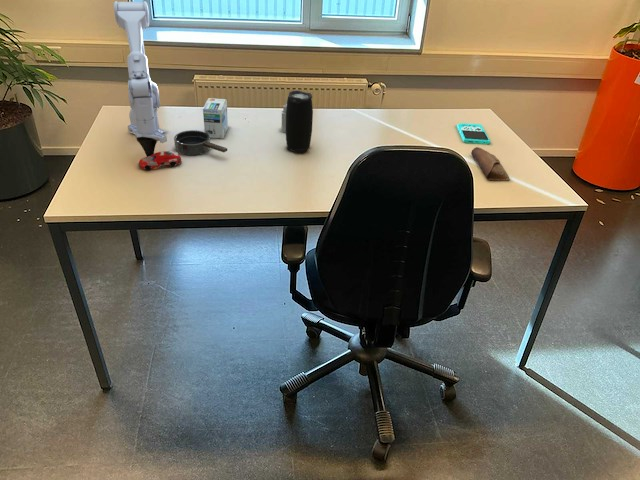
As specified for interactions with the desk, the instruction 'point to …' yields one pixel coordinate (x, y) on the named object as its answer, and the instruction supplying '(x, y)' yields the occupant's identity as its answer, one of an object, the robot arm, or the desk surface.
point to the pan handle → (215, 147)
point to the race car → (160, 160)
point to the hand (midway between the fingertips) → (150, 157)
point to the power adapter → (284, 118)
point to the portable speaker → (299, 121)
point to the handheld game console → (473, 133)
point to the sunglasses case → (490, 165)
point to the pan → (191, 142)
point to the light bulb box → (215, 117)
